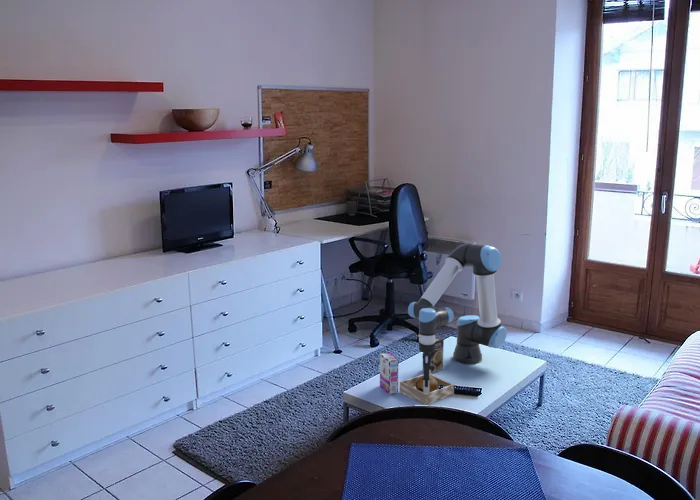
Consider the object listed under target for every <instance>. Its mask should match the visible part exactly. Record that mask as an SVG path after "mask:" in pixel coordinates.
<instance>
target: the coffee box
mask: <svg viewBox="0 0 700 500" xmlns="http://www.w3.org/2000/svg"><path fill="white" fill-rule="evenodd" d="M444 342H445V341H444V338H440V337H437V336H436V342H435V351H434V352H432V353H431V365H430V367H432V369H429V370H430V374H431V375H433V374H434V373H437V372H439V371H442V370H444ZM422 371H423V372H424V365H423V364H422Z"/></svg>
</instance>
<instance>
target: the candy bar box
mask: <svg viewBox="0 0 700 500" xmlns="http://www.w3.org/2000/svg"><path fill="white" fill-rule="evenodd" d="M379 387H381V389H382V390H383V391H384V392H386V393H387V394H388V396H389V395H396V394H399V359H398V358H396V357H395V356H393V355H392V354H391V353H389V352H385V353H383V352H382V353H380V354H379Z"/></svg>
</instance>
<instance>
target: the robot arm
mask: <svg viewBox="0 0 700 500" xmlns="http://www.w3.org/2000/svg"><path fill="white" fill-rule="evenodd" d="M501 263H502V257H501V253H500V251H499V250H498V249H497V248H496V247H495V246H490V245H488V244H487V245H483V244H478V243H471V242H467V243H463V244H461V245H459V246H458V247H456V248H455V249H453V250H452V251H451V252H450V254H449V255H448V256H447V257H446V258H445V264H444V265H443V266H442V268H441V269H440V270H439V272H438V273H437V275H436V276H435V277H434V279H433V280H432V281H431V283H430V285H429V286H428V287H427V289H426V290H425V291H424V293H423V294H422V296H421V297H420V298H419V300H418V301H413V302H410V303H409V305H408V308H407V314H408V315H409V316H410V317H411V318H413V319H416V320H418V335H417V337H418V341H419V342H418V351H419V352H421V353H422V366H423V365H424V371H423V374H424V378H422V380H423V393H429V376H430V374H431V373H430V370H429V369H432V367H430V365H431V353H432V352H434V351H435V342H436V337H437V334H436V330H437V328H439V327H442V326H445V325H448V324H450V323H452V322H453V320H454V316H455V315H454V311H453V310H452V308H450V307H447V306H446V307H441V308H440V307H435V305H436V304H437V303H438V301H439V300H440V298H441V297H442V295H444V293H445V291H446V290H447V289H448V287H449V286H450V284H451V283H452V282H453V280H454V278H455V277H456V276H457V274H458V273H459V272H462V271H463V269H464V268H465V267H470V268H471V269H472V274H473V275H474V276H475V278H476V287H477V297H478V307H479V308H478V310H479V315H474V314H473V315H472V314H471V315H470V314H469V315H468V314H467V315H462V316H460V317H458V318H457V321H456V322H457V323H456V345H455V346H454V347H455V348H454V351H453V353H452V354H453V355H452V358H453V360H454V361H455V362H457V363H460V364H461V363H462V364H466V365H467V364H468V365H469V364H477V363H480V362H482V360H483V354H482V351H481V347H480V345H482V346H485V347H488V348H493V349H498V348H499V349H500V347H501V346H502V345H503V344H504V343H505V341H506V338H507V333H508V332H507V329H506V327H504V326H503V325H502V321H501V319H500V318H499V317H498V309H497V297H496V285H495V283H496V282H495V274H497V272H498V270H499V268H500V266H501Z"/></svg>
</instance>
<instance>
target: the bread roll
mask: <svg viewBox="0 0 700 500" xmlns="http://www.w3.org/2000/svg"><path fill="white" fill-rule="evenodd" d="M422 378H424V376H422V377H420V378H419V379H418V380H417V382H416V389H417V390H419V391H421V392H423V380H422ZM437 386H438V384H437V381H436V380H435V379H434V378H433V377H432V376H429V392H432V391H435V390H436V389H437Z"/></svg>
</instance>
